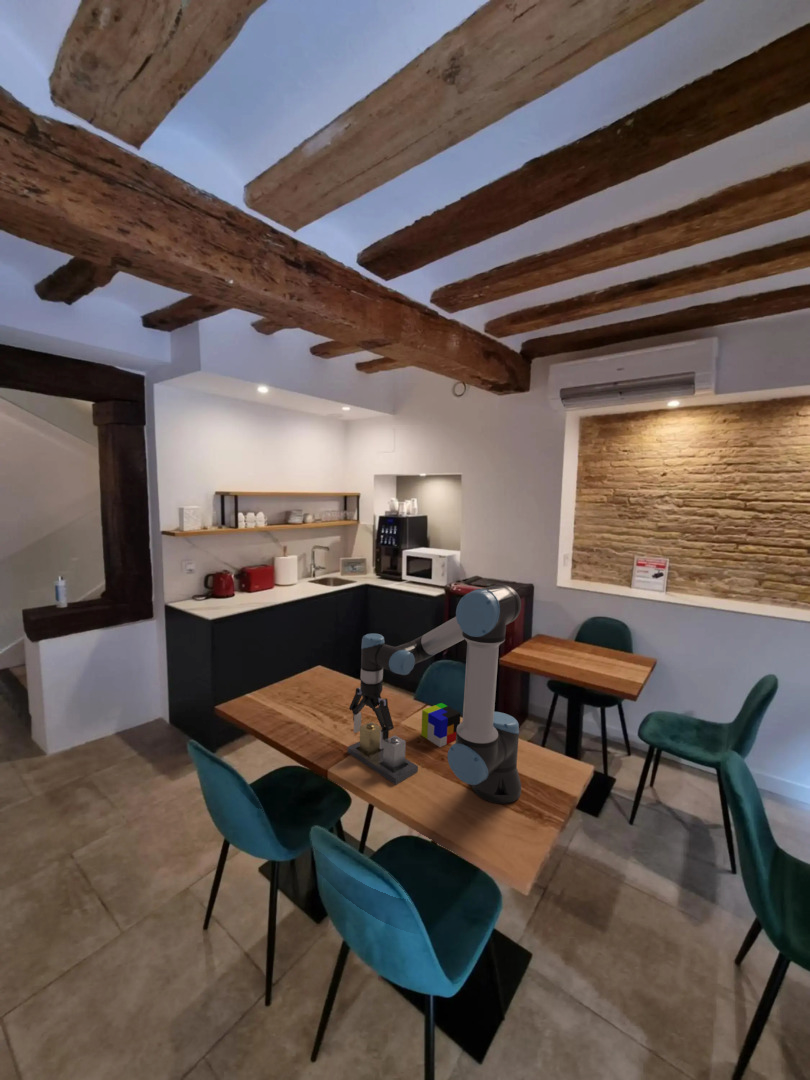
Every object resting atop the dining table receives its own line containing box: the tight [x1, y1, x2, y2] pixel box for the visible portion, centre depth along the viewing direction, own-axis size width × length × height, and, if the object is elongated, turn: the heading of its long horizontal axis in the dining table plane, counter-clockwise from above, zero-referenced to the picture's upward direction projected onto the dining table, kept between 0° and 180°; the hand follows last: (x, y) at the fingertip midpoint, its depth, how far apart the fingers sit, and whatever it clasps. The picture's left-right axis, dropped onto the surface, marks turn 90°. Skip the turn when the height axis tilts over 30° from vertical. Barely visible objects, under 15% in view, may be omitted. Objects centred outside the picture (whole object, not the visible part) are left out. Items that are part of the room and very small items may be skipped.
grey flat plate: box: [346, 740, 419, 786], centre depth 152 cm, size 24×10×2 cm, turn 45°
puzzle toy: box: [420, 702, 461, 748], centre depth 169 cm, size 10×10×10 cm
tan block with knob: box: [359, 721, 382, 757], centre depth 156 cm, size 5×5×10 cm
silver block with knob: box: [383, 734, 407, 773], centre depth 147 cm, size 5×5×10 cm
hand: (369, 739), depth 156 cm, fingers open, 13 cm apart
